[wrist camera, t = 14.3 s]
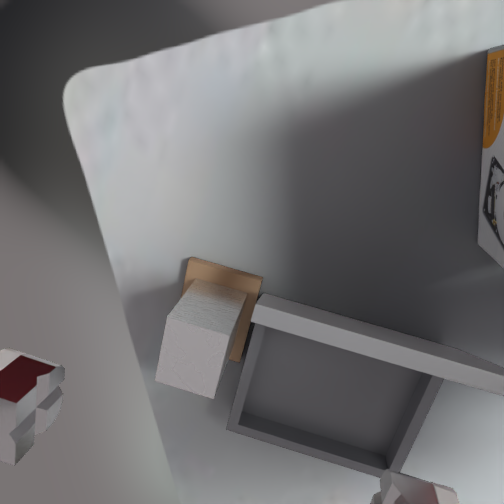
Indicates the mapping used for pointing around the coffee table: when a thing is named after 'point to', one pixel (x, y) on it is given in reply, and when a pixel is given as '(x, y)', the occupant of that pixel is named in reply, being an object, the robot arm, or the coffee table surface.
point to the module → (200, 338)
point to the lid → (378, 343)
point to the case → (330, 401)
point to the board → (230, 280)
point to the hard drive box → (493, 160)
